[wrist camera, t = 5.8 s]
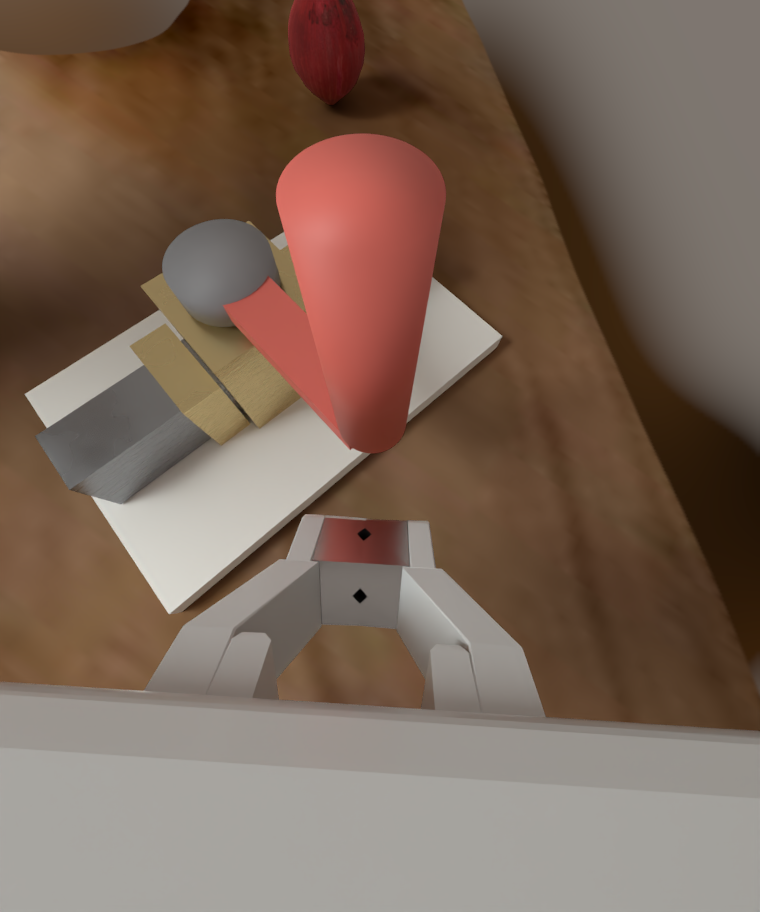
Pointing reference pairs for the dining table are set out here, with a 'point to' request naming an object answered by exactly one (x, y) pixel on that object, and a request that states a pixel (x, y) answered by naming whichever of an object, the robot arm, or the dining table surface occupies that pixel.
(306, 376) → the lever
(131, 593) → the dining table surface
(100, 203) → the dining table surface
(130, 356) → the mounting board
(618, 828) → the robot arm
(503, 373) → the dining table surface
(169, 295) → the valve and pipe
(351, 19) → the onion
